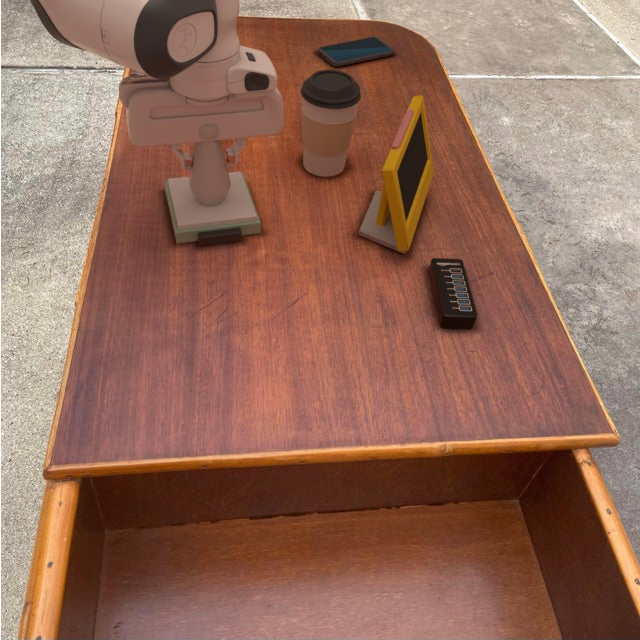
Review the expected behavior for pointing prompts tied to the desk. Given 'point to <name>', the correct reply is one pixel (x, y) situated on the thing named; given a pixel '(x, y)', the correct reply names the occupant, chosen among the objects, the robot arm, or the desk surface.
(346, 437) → the desk surface
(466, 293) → the multiport hub
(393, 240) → the toy computer monitor
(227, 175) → the salt shaker
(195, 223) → the scale
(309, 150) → the coffee cup
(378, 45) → the smartphone
